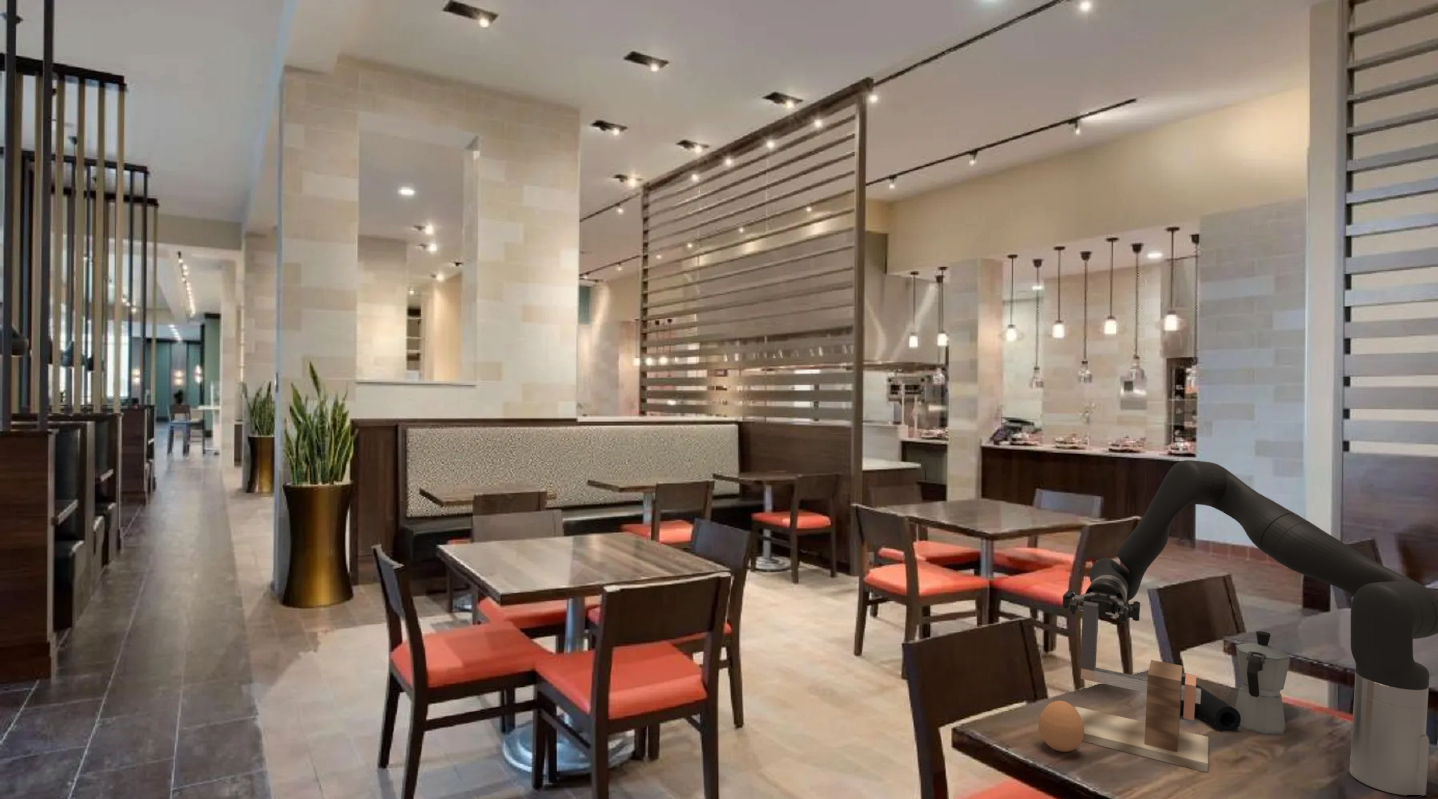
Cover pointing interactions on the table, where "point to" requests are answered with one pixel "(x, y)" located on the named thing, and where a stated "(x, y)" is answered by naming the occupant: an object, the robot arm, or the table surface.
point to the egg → (1061, 726)
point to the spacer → (1189, 696)
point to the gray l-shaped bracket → (1104, 675)
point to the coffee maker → (1261, 685)
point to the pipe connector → (1214, 711)
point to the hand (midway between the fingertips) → (1097, 613)
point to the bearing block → (1151, 724)
